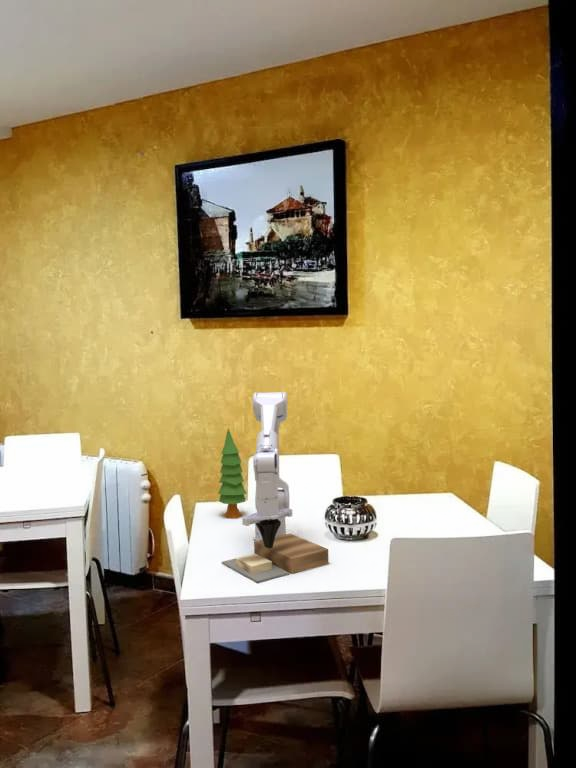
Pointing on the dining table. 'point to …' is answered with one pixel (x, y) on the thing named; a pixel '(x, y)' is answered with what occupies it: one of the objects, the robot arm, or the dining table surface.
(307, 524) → the dining table surface
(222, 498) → the decorative tree
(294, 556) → the walnut deck
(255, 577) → the rubber mat
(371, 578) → the dining table surface
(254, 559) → the birch tile
